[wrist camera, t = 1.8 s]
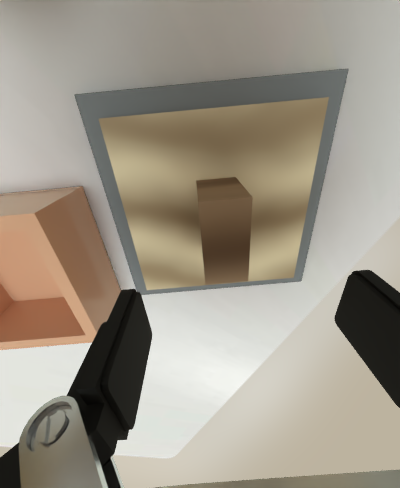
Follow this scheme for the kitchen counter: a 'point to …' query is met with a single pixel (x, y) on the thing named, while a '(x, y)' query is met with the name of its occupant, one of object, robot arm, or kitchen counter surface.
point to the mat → (203, 98)
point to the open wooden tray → (52, 270)
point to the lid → (216, 189)
